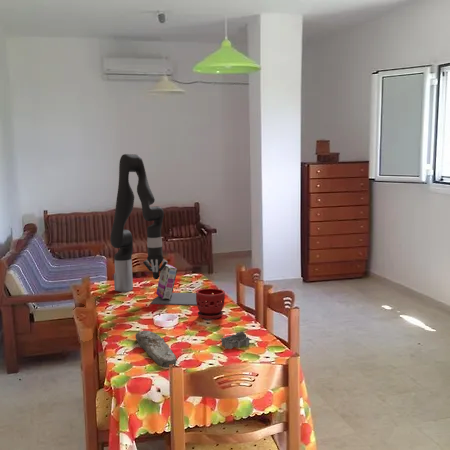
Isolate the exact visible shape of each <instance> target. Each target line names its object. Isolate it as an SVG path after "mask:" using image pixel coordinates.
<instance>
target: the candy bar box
mask: <svg viewBox="0 0 450 450" xmlns="http://www.w3.org/2000/svg"><path fill="white" fill-rule="evenodd" d="M162 265H163V264H162V263H161V266H162ZM177 273H178V268H177V267H174V266H173V265H172V264H168V263H167V264H166V265H165V267H164V268H163V270H161V271H160V272H159V278H158V284H157V288H156V293H155V295H157V296H159V297H161V298H162V299H167V300H171V297H172V293H174V292H173V290H174V287H175V282H176V277H177Z"/></svg>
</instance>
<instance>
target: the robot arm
mask: <svg viewBox="0 0 450 450" xmlns="http://www.w3.org/2000/svg"><path fill="white" fill-rule="evenodd" d="M118 164H119V165H118V187H117V195H116V200H115V201H116V202H115V209H114V210H115V211H114V217H113V218H114V219H113V224H112V227H111V232H110V244H111V246H112V247H113V248H114V249H118V251H117V252H116V253H114V257H113V258H114V273H113V284H114V291H115V292H121V293H122V292H130V291H133V290H134V285H133V283H134V282H133V280H134V279H133V263H132V260H133V259H132V256H133V253H134V252H133V251H134V250H133V249H134V248H133V247H134V241H133V240H134V239H133V235H132V232H131V231H130V230H129V229H125V226H126V223H127V221H128V219H129V217H130V216H131V213H132V212H133V209H134V204H135V193H134V191H133V189H132V186H131V185H130V180H129V179H130V173H135V174H136V175H137V178H138V179H137V186H136V193H137V196H138V199H139V201H140V203H141V204H140V205H141V211H142V212H141V213H142V218H143V219H144V220H145V221H147V222H153V223H152V224H150V225H148V226H147V228H146V232H147V233H146V236H147V238H146V243H147V245H146V246H147V247H146V248H147V257H146V259H145V260H143V264H144V266H145V267H146V268H147V269H148V271H149V272H152V277H153V278H152V279H154V280H159V277H160V272H161V270H163V268H164V267H165V265H166V264H168V262H169V261H168V260H166V259H164V258H165V257H164V256H163V252H164V251H163V239H162V226H163V220H164V216H165V212H164V209H163V207H161V206H159V205H158V206H152V205H153V204H154V203H155V201H156V200H155V196H154V194H153V191H152V189H151V187H150V184H149V181H148V176H147V172H146V168H145V165H144V161H143V158H142V156H141V155H139V154H137V153H136V154H131V153H130V154H129V153H125V154H122V155H121V156H120V159H119V163H118ZM162 264H163V265H162Z"/></svg>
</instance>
